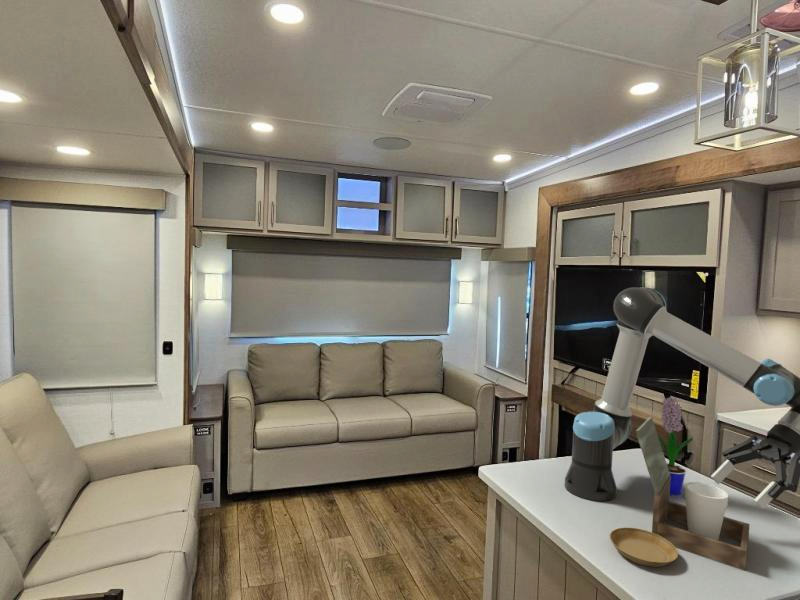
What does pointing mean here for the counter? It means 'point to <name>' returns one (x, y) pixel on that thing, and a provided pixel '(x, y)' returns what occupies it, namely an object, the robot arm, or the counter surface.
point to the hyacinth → (673, 443)
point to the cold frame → (678, 512)
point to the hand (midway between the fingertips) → (735, 491)
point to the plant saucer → (643, 547)
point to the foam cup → (705, 508)
